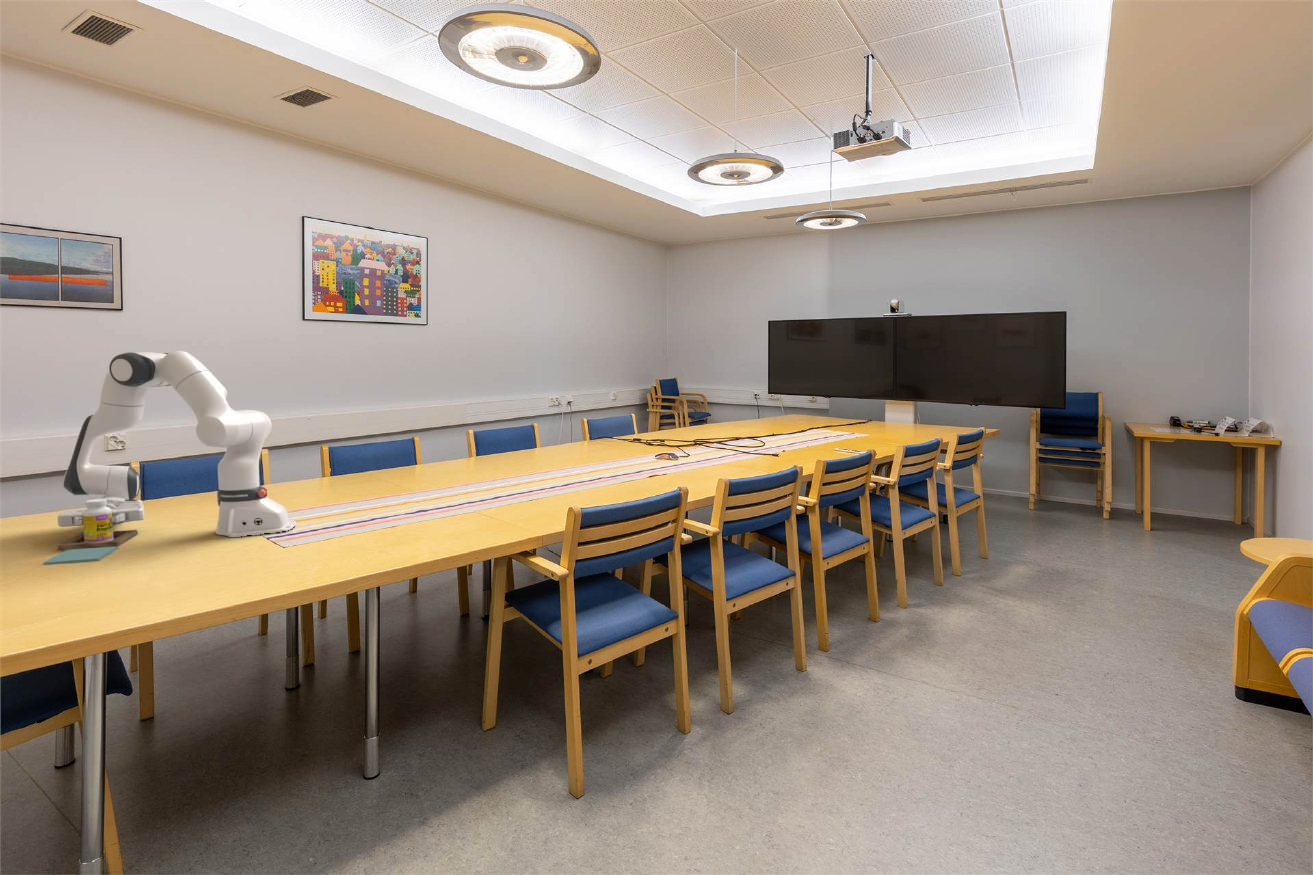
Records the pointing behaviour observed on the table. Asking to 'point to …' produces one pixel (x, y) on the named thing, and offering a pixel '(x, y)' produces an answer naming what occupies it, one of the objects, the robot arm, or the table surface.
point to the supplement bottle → (97, 521)
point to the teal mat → (81, 555)
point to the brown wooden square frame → (78, 544)
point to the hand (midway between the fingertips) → (96, 521)
